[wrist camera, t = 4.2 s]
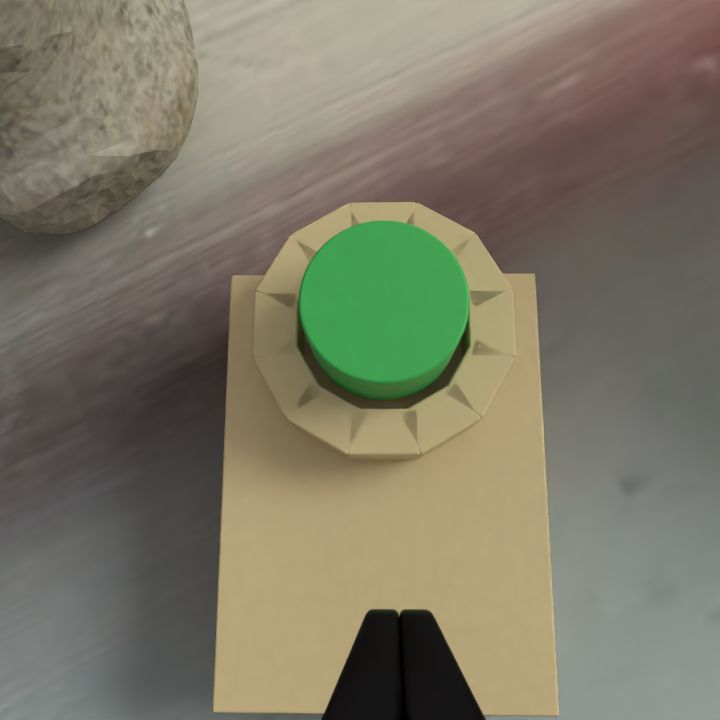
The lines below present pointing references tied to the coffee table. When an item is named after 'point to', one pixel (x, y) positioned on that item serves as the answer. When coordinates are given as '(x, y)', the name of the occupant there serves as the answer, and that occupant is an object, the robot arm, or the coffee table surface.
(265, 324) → the switch box
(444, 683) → the robot arm
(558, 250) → the coffee table surface
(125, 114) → the stone
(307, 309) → the light button
